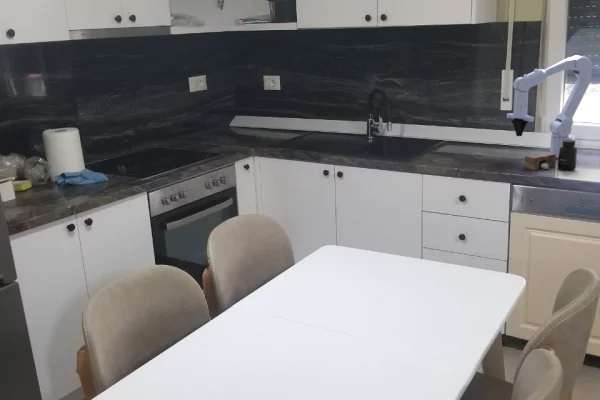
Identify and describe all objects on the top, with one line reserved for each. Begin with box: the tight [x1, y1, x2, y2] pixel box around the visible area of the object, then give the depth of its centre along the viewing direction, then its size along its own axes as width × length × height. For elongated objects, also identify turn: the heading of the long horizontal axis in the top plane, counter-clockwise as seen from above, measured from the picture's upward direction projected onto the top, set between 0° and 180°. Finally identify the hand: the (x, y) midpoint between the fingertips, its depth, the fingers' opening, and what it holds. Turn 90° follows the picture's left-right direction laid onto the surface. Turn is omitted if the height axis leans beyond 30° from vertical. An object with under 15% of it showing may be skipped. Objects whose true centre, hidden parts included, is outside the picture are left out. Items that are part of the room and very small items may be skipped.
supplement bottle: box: [557, 139, 578, 172], centre depth 254 cm, size 7×7×12 cm
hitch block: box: [524, 152, 557, 171], centre depth 261 cm, size 12×5×5 cm, turn 115°
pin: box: [539, 162, 551, 171], centre depth 260 cm, size 9×6×3 cm, turn 25°
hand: (519, 135), depth 276 cm, fingers closed
